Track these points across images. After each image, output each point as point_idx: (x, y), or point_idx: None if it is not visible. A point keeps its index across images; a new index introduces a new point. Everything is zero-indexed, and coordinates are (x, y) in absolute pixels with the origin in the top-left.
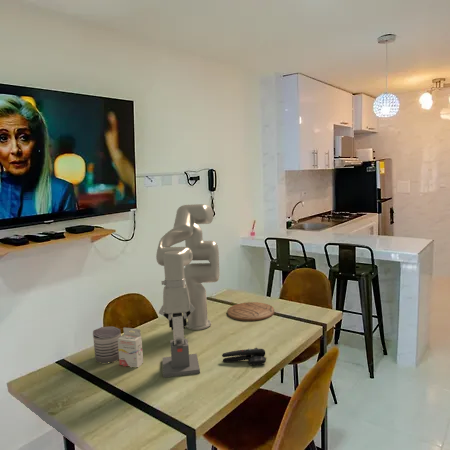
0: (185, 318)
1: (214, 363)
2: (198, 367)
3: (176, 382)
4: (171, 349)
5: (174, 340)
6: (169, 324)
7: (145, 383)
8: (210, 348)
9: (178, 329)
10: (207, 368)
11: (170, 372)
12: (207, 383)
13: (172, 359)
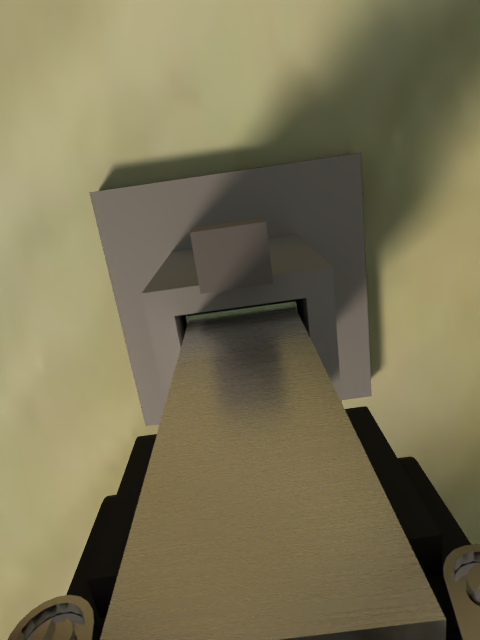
0: (65, 609)
1: (18, 318)
2: (103, 223)
3: (252, 66)
4: (320, 261)
5: (298, 329)
6: (430, 488)
7: (474, 79)
8: (77, 509)
9: (246, 406)
10: (55, 254)
11: (304, 169)
12: (17, 20)
13: (300, 245)
